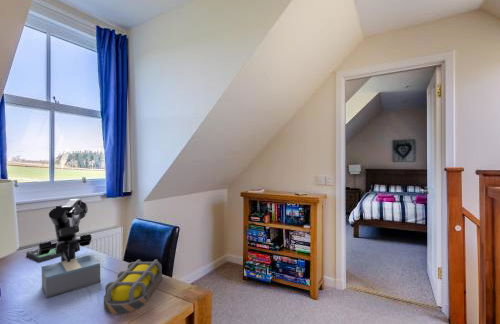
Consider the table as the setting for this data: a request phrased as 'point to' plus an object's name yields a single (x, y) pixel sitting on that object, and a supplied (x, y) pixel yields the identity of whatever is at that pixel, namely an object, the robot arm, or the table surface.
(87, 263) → the lid
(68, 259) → the robot arm
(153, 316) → the table surface
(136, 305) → the cage light
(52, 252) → the disk drive
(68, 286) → the storage box
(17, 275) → the table surface
